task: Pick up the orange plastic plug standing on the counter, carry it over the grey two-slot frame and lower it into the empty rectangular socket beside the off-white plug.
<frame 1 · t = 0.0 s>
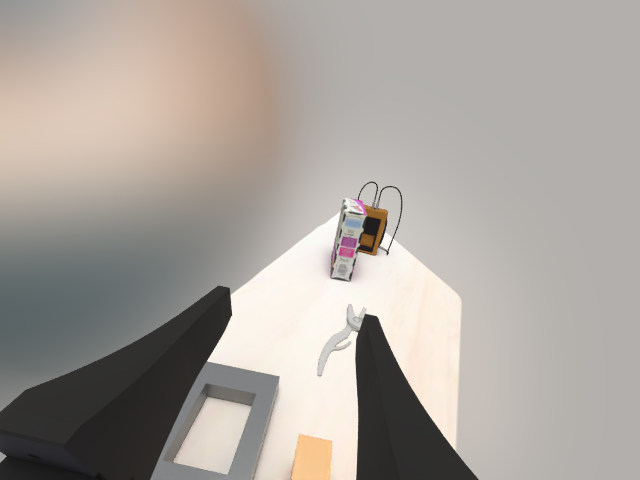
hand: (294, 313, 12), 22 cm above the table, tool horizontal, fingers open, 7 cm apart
multimeter: (364, 246, 72), on the table
pliers: (353, 343, 39), on the table
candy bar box: (340, 268, 59), on the table
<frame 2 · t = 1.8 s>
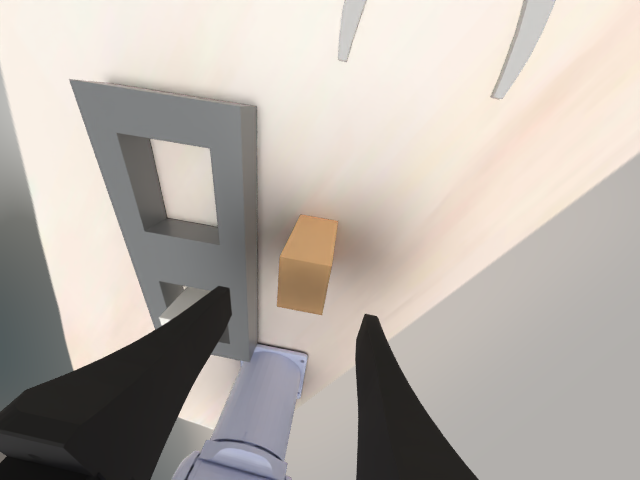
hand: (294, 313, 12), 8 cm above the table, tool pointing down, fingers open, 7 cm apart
grey two-slot frame: (203, 248, 21), on the table
orange plug: (316, 239, 19), on the table
white plug: (211, 295, 24), resting in grey two-slot frame
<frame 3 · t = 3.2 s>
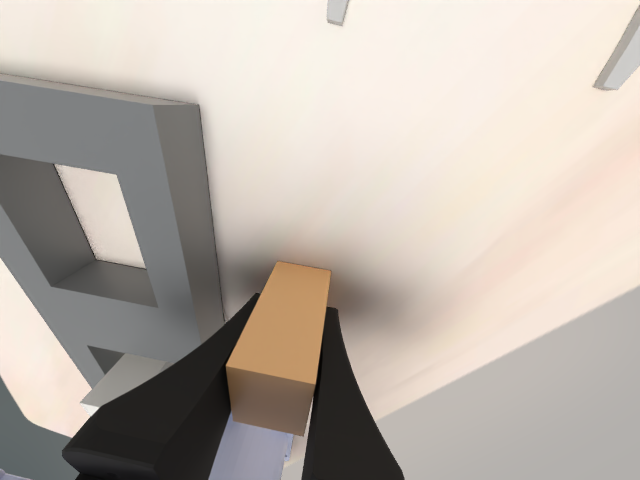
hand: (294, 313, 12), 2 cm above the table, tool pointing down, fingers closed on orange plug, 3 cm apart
grey two-slot frame: (151, 297, 16), on the table
orange plug: (300, 292, 14), on the table, touching gripper
white plug: (169, 351, 19), resting in grey two-slot frame
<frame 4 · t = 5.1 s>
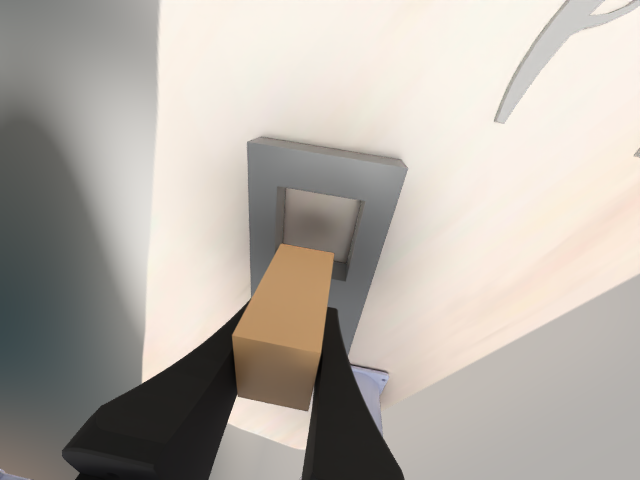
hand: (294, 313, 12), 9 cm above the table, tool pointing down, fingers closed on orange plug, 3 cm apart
grey two-slot frame: (311, 278, 23), on the table
orange plug: (303, 276, 14), point 7 cm above the table, touching gripper
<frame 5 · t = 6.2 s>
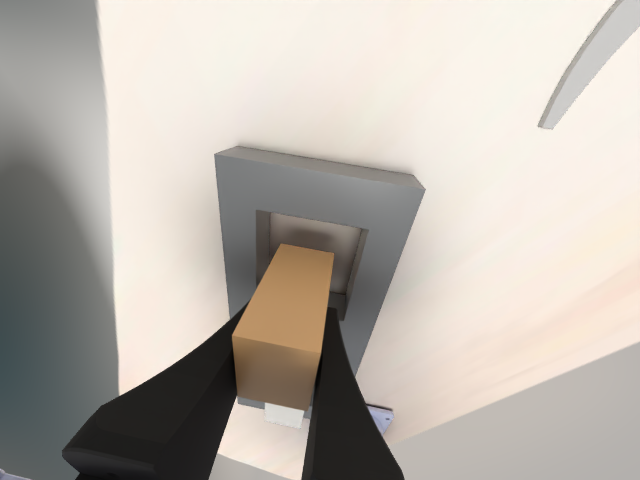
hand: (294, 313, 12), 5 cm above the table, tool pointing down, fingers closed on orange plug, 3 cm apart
grey two-slot frame: (303, 310, 19), on the table
orange plug: (303, 276, 14), point 3 cm above the table, touching gripper
white plug: (297, 353, 22), resting in grey two-slot frame
when the fingers open (3 cm above the table, at t = 7.0 s): orange plug stays where it is, resting in grey two-slot frame.
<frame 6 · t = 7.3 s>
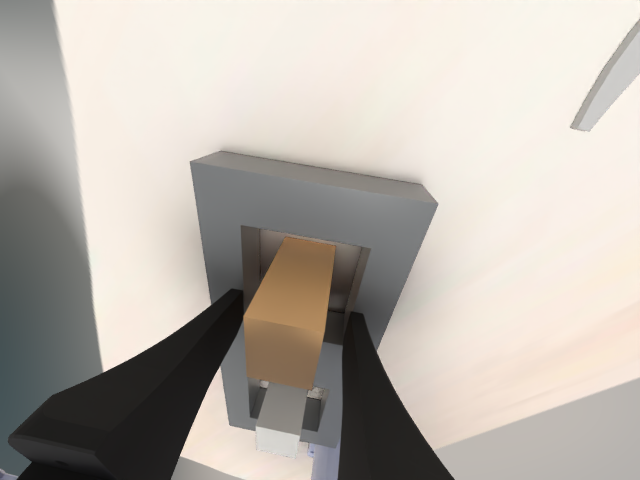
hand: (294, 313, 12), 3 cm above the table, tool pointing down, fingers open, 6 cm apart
grey two-slot frame: (298, 329, 18), on the table
orange plug: (306, 268, 15), resting in grey two-slot frame
white plug: (293, 372, 21), resting in grey two-slot frame
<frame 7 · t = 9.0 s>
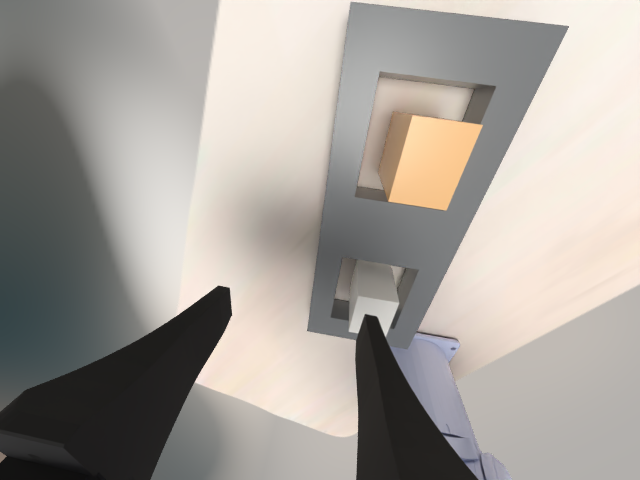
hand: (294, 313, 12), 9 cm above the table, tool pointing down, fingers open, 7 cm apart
grey two-slot frame: (385, 221, 19), on the table
orange plug: (406, 147, 16), resting in grey two-slot frame
white plug: (368, 277, 22), resting in grey two-slot frame
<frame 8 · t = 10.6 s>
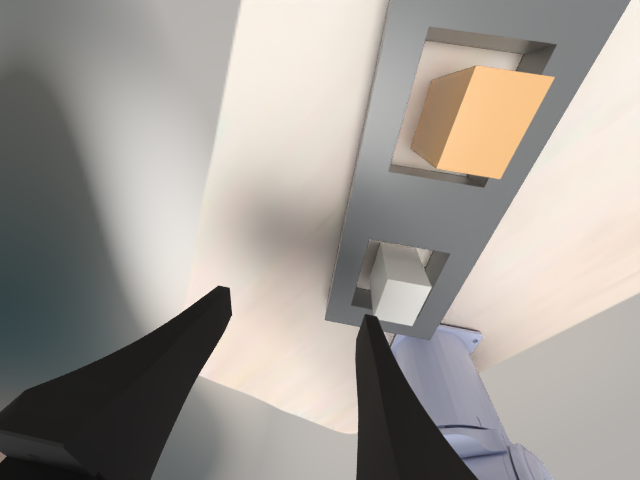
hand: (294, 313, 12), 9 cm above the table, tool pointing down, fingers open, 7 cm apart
grey two-slot frame: (413, 202, 18), on the table
orange plug: (443, 120, 15), resting in grey two-slot frame
white plug: (391, 263, 21), resting in grey two-slot frame
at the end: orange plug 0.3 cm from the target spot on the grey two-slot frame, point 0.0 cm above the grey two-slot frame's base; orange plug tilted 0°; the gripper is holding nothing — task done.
